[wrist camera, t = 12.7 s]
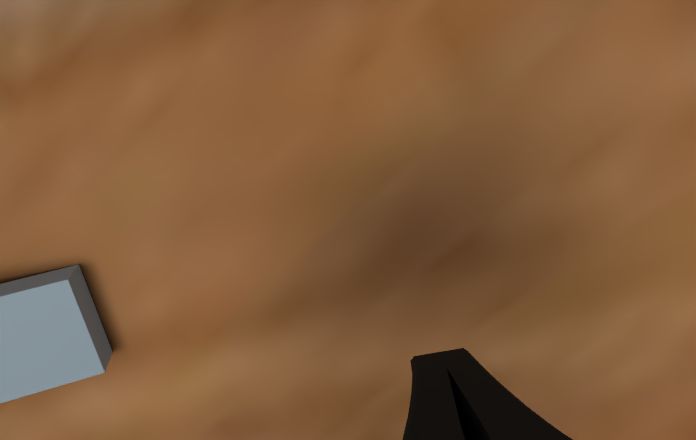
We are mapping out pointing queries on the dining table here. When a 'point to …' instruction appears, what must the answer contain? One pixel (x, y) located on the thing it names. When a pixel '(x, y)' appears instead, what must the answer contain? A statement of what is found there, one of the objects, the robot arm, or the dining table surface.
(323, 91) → the dining table surface
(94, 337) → the slate tile
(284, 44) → the dining table surface
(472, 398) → the robot arm
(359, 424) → the dining table surface
